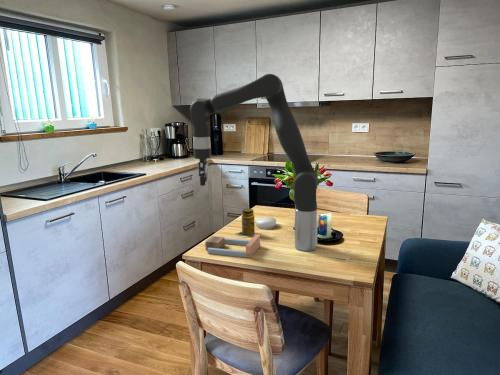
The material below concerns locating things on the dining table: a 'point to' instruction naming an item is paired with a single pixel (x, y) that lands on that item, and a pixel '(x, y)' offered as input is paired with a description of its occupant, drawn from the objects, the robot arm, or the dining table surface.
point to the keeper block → (215, 242)
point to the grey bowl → (266, 222)
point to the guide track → (250, 247)
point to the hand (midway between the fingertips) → (203, 183)
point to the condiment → (247, 223)
